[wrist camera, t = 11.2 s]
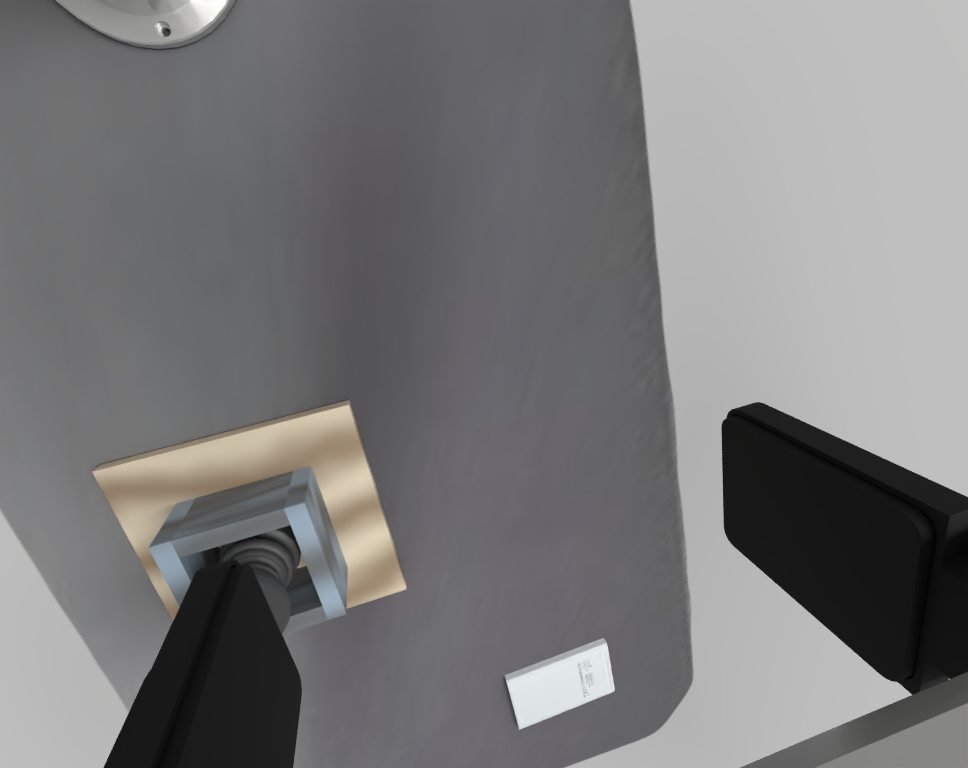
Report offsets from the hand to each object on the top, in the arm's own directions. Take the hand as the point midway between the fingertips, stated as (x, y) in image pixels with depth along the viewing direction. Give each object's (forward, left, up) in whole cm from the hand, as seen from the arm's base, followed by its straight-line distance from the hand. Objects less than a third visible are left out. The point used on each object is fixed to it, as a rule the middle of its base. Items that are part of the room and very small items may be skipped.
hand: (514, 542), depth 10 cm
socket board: (+18, -16, -34) cm, 42 cm away
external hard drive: (+49, +8, -35) cm, 61 cm away
